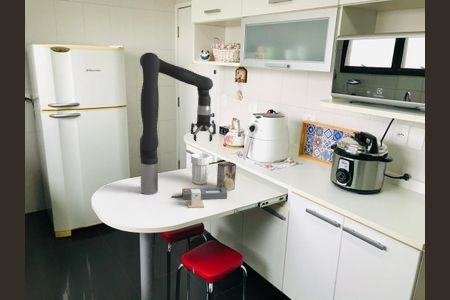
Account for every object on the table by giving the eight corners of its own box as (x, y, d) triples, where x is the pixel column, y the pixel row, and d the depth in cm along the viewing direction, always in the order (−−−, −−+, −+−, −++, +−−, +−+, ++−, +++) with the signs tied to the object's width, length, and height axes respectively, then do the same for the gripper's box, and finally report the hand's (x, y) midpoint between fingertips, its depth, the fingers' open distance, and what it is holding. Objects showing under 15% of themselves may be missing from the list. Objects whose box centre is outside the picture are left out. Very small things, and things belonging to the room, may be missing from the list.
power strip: (172, 200, 172) (172, 193, 171) (171, 194, 180) (171, 187, 179) (226, 198, 179) (227, 192, 177) (224, 193, 186) (224, 186, 185)
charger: (191, 205, 167) (192, 192, 165) (190, 201, 171) (191, 189, 169) (200, 205, 168) (201, 192, 166) (199, 201, 172) (199, 189, 170)
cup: (206, 186, 194) (207, 159, 189) (188, 184, 196) (188, 157, 191) (210, 180, 204) (211, 154, 200) (193, 178, 206) (194, 152, 202)
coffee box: (228, 186, 197) (229, 161, 192) (234, 189, 192) (236, 163, 188) (216, 189, 191) (217, 163, 187) (222, 192, 186) (224, 166, 182)
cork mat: (188, 208, 165) (188, 207, 165) (187, 201, 173) (187, 200, 172) (204, 207, 167) (204, 206, 167) (202, 200, 174) (202, 199, 174)
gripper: (191, 114, 176) (191, 142, 181) (217, 114, 179) (216, 143, 184) (190, 111, 183) (189, 139, 188) (215, 112, 186) (214, 139, 191)
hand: (202, 141), depth 186 cm, fingers open, 8 cm apart
